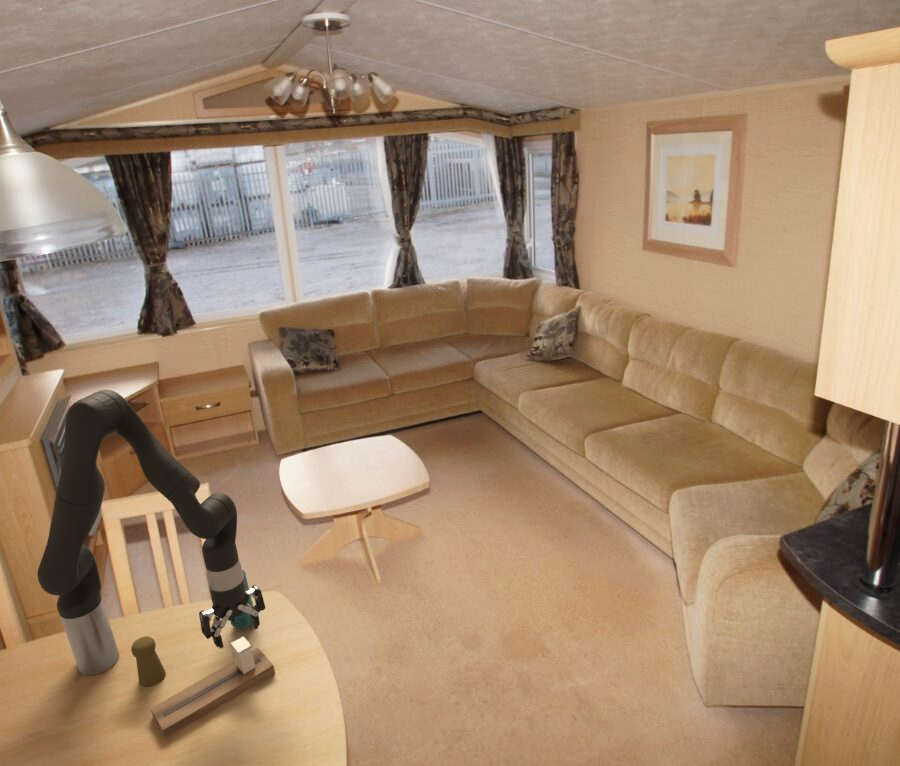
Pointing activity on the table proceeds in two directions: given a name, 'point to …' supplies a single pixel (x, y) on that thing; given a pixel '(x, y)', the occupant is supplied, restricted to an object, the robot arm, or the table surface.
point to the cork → (148, 662)
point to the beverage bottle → (243, 619)
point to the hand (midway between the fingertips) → (237, 636)
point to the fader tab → (243, 655)
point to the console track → (209, 694)
